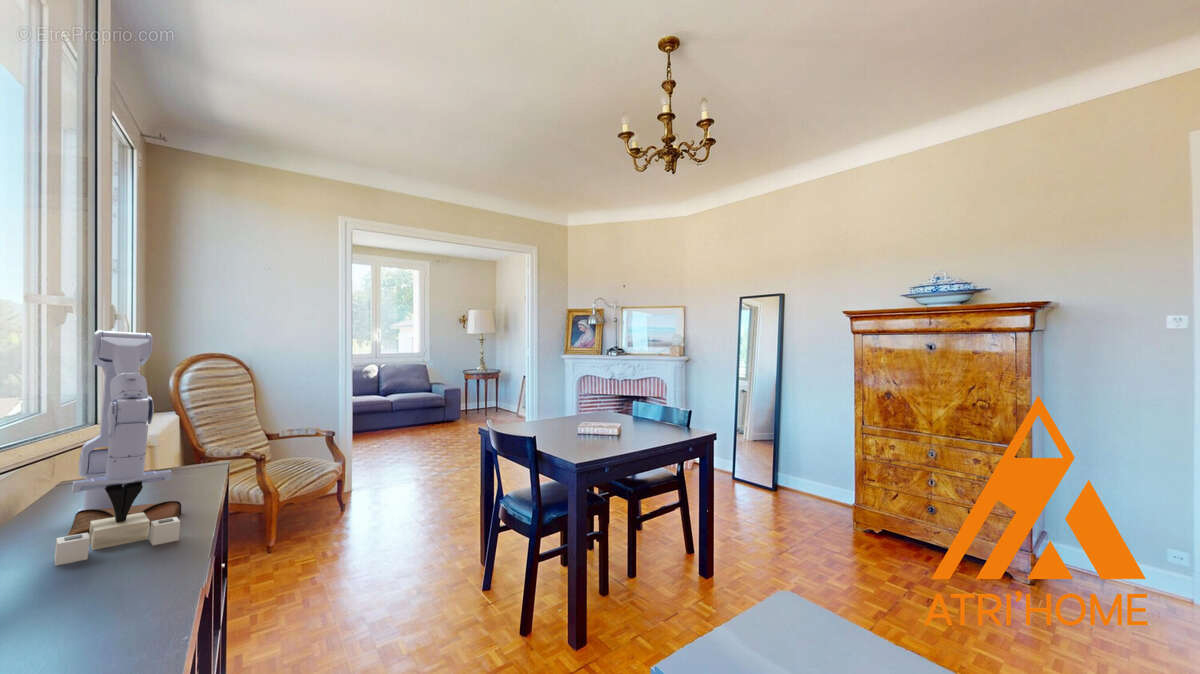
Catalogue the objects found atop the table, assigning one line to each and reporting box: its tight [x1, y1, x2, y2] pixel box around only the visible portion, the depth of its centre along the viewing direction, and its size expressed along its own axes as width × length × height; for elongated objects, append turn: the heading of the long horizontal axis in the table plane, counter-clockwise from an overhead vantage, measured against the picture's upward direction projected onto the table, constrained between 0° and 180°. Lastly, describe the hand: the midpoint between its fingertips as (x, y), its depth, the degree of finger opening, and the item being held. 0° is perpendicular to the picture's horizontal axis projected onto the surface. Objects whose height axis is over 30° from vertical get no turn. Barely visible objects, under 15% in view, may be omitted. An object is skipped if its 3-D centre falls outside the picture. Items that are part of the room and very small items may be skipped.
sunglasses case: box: [67, 500, 182, 536], centre depth 106 cm, size 18×7×7 cm
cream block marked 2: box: [148, 517, 181, 546], centre depth 98 cm, size 4×4×4 cm
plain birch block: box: [89, 512, 151, 551], centre depth 97 cm, size 8×8×4 cm
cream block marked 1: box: [53, 533, 90, 567], centre depth 88 cm, size 4×4×4 cm
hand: (120, 520), depth 97 cm, fingers closed
